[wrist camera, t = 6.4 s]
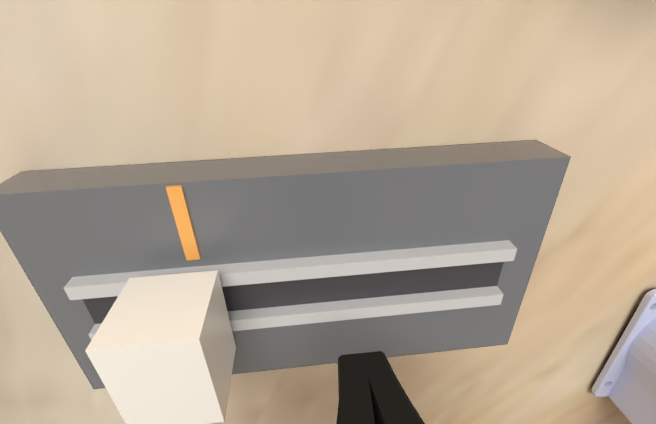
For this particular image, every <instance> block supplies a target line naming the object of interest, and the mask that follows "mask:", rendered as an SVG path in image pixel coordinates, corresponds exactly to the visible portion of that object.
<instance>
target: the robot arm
mask: <svg viewBox="0 0 656 424" xmlns="http://www.w3.org/2000/svg"><path fill="white" fill-rule="evenodd" d="M338 382H339V406H338V415H337V424H425V423H424V422H423V420H422V419H421V417H420V416H419V414H418V412H417V411H416V409H415V408H414V406H413V405H412V403H411V401H410V400H409V398H408V396H407V395H406V393H405V391H404V390H403V388H402V386H401V384H400V383H399V381H398V379H397V377H396V375H395V374H394V372H393V370H392V368H391V366H390V364H389V362H388V360H387V358H386V356H385V353H383V352H382V351H376V352H366V353H356V354H346V355H341V356H340V357H339V358H338ZM591 391H592V393H593V394H594V395H595V396H596V397H605V396H608V397H609V398H610V399H611V400H612V401H613V403H614V404H615V405H616V406H617V407H618V409H619V410H620V411H621V412H622V413H623V414H624V416H625V417H626V418H627V419H628V420H629V422H630V423H631V424H656V289H652V290H650V291H649V292H647V293H646V294H645V296H644V298H643V299H642V301H641V303H640V305H639V306H638V308H637V310H636V312H635V313H634V315H633V317H632V319H631V320H630V322H629V324H628V326H627V327H626V329H625V331H624V333H623V334H622V336H621V338H620V340H619V342H618V343H617V345H616V347H615V349H614V350H613V352H612V354H611V356H610V357H609V359H608V361H607V363H606V364H605V366H604V368H603V370H602V371H601V373H600V375H599V377H598V378H597V380H596V382H595V384H594V385H593V387H592V390H591Z"/></svg>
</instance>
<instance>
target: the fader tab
mask: <svg viewBox="0 0 656 424" xmlns="http://www.w3.org/2000/svg"><path fill="white" fill-rule="evenodd" d="M235 350H236V345H235V341H234V337H233V333H232V328H231V324H230V320H229V316H228V311H227V307H226V303H225V299H224V294H223V290H222V286H221V282H220V277H219V273H218V270H216V271H205V272H193V273H181V274H170V275H158V276H146V277H135V278H129V279H128V281H127V283H126V284H125V286H124V287H123V289H122V291H121V292H120V294H119V296H118V297H117V299H116V301H115V302H114V304H113V306H112V307H111V309H110V311H109V312H108V314H107V316H106V317H105V319H104V320H103V322H102V324H101V325H100V327H99V329H98V330H97V332H96V334H95V335H94V337H93V339H92V340H91V342H90V344H89V345H88V347H87V348H86V350H85V352H86V353H87V355H88V357H89V359H90V360H91V362H92V364H93V366H94V368H95V369H96V371H97V373H98V375H99V377H100V378H101V380H102V382H103V384H104V386H105V387H106V389H107V391H108V393H109V394H110V396H111V398H112V400H113V402H114V403H115V405H116V407H117V409H118V411H119V412H120V414H121V416H122V418H123V420H124V421H125V423H126V424H210V423H218V422H224V421H225V414H226V408H227V402H228V395H229V389H230V382H231V376H232V369H233V363H234V356H235Z"/></svg>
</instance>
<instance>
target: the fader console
mask: <svg viewBox="0 0 656 424" xmlns="http://www.w3.org/2000/svg"><path fill="white" fill-rule="evenodd" d="M570 158H571V157H570V156H568V155H566V154H564V153H562V152H560V151H558V150H556V149H554V148H552V147H550V146H548V145H546V144H544V143H542V142H539V141H537V140H526V141H510V142H493V143H477V144H461V145H444V146H428V147H412V148H395V149H379V150H363V151H347V152H330V153H314V154H298V155H281V156H265V157H249V158H232V159H216V160H200V161H183V162H167V163H151V164H134V165H118V166H102V167H85V168H69V169H53V170H36V171H22V172H20V173H18V174H16V175H15V176H13V177H11V178H9V179H8V180H6V181H4V182H3V183H1V184H0V231H1V233H2V234H3V236H4V238H5V239H6V241H7V243H8V245H9V246H10V248H11V250H12V251H13V253H14V255H15V256H16V258H17V260H18V262H19V263H20V265H21V267H22V268H23V270H24V272H25V273H26V275H27V277H28V279H29V280H30V282H31V284H32V285H33V287H34V289H35V290H36V292H37V294H38V295H39V297H40V299H41V301H42V302H43V304H44V306H45V307H46V309H47V311H48V312H49V314H50V316H51V318H52V319H53V321H54V323H55V324H56V326H57V328H58V329H59V331H60V333H61V335H62V336H63V338H64V340H65V341H66V343H67V345H68V346H69V348H70V350H71V352H72V353H73V355H74V357H75V358H76V360H77V362H78V363H79V365H80V367H81V369H82V370H83V372H84V374H85V375H86V377H87V379H88V380H89V382H90V384H91V386H92V387H93V389H100V388H106V387H105V386H104V384H103V382H102V380H101V378H100V377H99V375H98V373H97V371H96V369H95V368H94V366H93V364H92V362H91V360H90V359H89V357H88V355H87V353H86V352H85V350H86V348H87V347H88V345H89V344H90V342H91V340H92V339H93V337H94V335H95V334H96V332H97V330H98V329H99V327H100V325H101V324H102V322H103V320H104V319H105V317H106V316H107V314H108V312H109V311H110V309H111V307H112V306H113V304H114V302H115V301H116V299H117V297H118V296H119V294H120V292H121V291H122V289H123V287H124V286H125V284H126V283H127V281H128V279H129V278H135V277H146V276H158V275H170V274H181V273H193V272H205V271H216V270H218V273H219V277H220V282H221V286H222V290H223V294H224V299H225V303H226V307H227V311H228V316H229V320H230V324H231V328H232V333H233V337H234V341H235V345H236V350H235V356H234V363H233V369H232V374H238V373H247V372H257V371H266V370H275V369H284V368H293V367H303V366H312V365H321V364H330V363H338V358H339V357H340V356H341V355H346V354H356V353H366V352H376V351H382V352H383V353H385V356H386V357H395V356H404V355H413V354H422V353H432V352H441V351H450V350H459V349H468V348H478V347H487V346H496V345H505V344H508V341H509V338H510V335H511V332H512V329H513V326H514V323H515V320H516V317H517V314H518V311H519V308H520V305H521V302H522V299H523V296H524V293H525V291H526V288H527V285H528V282H529V279H530V276H531V273H532V270H533V267H534V264H535V261H536V258H537V255H538V252H539V249H540V246H541V243H542V240H543V237H544V234H545V231H546V228H547V226H548V223H549V220H550V217H551V214H552V211H553V208H554V205H555V202H556V199H557V196H558V193H559V190H560V187H561V184H562V181H563V178H564V175H565V172H566V169H567V166H568V163H569V160H570Z"/></svg>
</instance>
